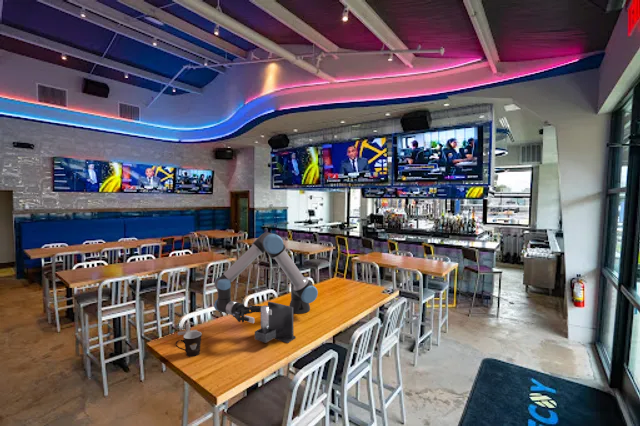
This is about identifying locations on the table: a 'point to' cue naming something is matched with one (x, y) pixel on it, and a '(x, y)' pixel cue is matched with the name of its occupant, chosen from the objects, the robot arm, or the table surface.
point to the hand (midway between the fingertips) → (262, 316)
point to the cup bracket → (278, 324)
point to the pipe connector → (186, 330)
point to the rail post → (264, 319)
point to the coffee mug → (192, 343)
